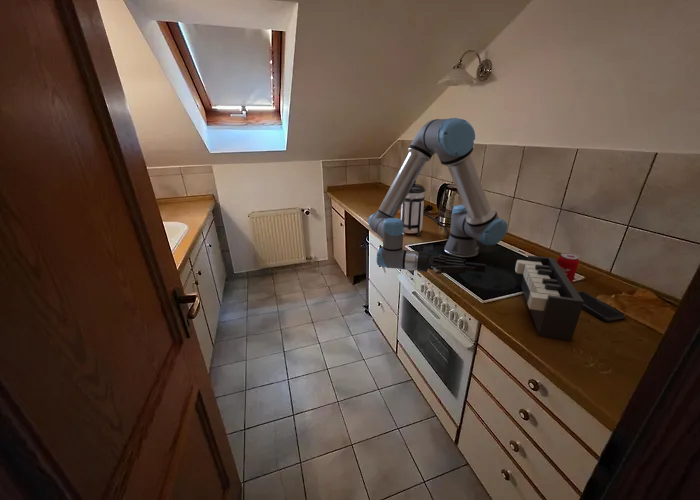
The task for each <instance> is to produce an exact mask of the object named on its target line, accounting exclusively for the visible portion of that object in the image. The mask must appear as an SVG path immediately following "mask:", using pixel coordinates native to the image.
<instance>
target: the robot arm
mask: <svg viewBox="0 0 700 500" xmlns="http://www.w3.org/2000/svg"><path fill="white" fill-rule="evenodd" d="M475 140H476V132H475V129H474V126H473V125H472V124H471V123H470V122H469V120H467V119H466V120H465V119H464V118H459V117H451V118H436V119H431V120H430V121H427V122H426V123H425V124H424V125H423V126H422V127H421V128H420V129H419V130H418V132H417V133H416V135H415V136H414V138H413V140H412V141H411V143H410V145H409V147H408V149H407V151H408V153H407V156H406V157H405V159H404V161H403V163H402V165H401V167H400V169H399V171H398V173H397V174H396V176H395V177H394V180H393V182H392V183H391V185H390V187H389V189H388V191H387V193H386V195H385V196H384V198H383V200H382V202H381V204H380V205H379V207H378V209H377V211H376V212H374V213H373V214H371V215H370V216H369V218H368V220H367V224H368V226H369V228H370V229H371V231H372V232H373V233H375V234H376V235H378V236H379V238H381V239H382V247H379V248H378V249H377V252H376V265H377V266H378V267H381V268H387V269H396V270H406V271H409V272H410V271H413V272H416V270H417V272H423V273H427V272H428V270H430V271H434V272H435V273H434V274H436V275H439V274H465V273H466V271H467V272H475V273H485V272H486V265H487V264H486V263H481V262H469V261H467V260H469V259H474V258H477V257H478V256H479V250H480V246H479V245H478V242H479V243H481V244H482V245H486V246H494V245H497V244H499V243H500V242H501V241H502V240H503V239H504V238H505V236H506V234H507V232H508V227H509V226H508V222H507V220H505V219H503V218H500V217H499V214H498V211H497V210H496V208H495V206H493V205H490V202H489V200H488V197H487V196H486V192H485V189H484V187H483V184H482V181H481V179H480V176H479V173H478V171H477V168H476V166H475V163H474V161H473V158H472V154H473V152H474V146H475V145H474V144H475V142H474V141H475ZM435 154H436V155H437V157H438V159H439V161H440V164H441V165H442V166H445V167H447V169H448V171H449V174H450V177H451V178H452V181H453V183H454V186H455V188H456V191H457V192H458V195H459V197H460V200H461V202H462V204H457V205H455V206H453V207H452V211H451V219H450V230H449V231H448V230H447V228H446V226H444V224H442V223H441V222H440V221H439V220H438V219H436V218H435V217H433V216H431V215H429V214H427V213H426V212H424V211H423V215H425V216H427V217H429V218H430V219H432V220H433V221H435V222H436V223H438V224H439V226H440V227H442V228H443V230H444V231H445V232H446V235H447V240H446V243H445V245H444V247H443V248H444V249H443V251H444V253H445V254H442V253H437V255H432V256H431V255H430V253H429V252H427V251H418V250H410V249H409V250H408V249H403V244H404V243H403V242H404V234H403V232H404V228H403V221H402V220H401V218H398V217H396V216H397V214H398V212H399V210H401V205H402V203H403V202H404V200H405V198H406V196H407V195H408V193H409V191H410V189H411V188H412V186H413V184H415V183H414V182H415V180H416V181H417V178H419V175H420V173H421V171H422V170H423V168H424V166H425V164H426V163H427V162H429V161H431V159H432V157H433V156H434V155H435ZM477 241H478V242H477Z"/></svg>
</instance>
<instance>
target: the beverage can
mask: <svg viewBox="0 0 700 500" xmlns="http://www.w3.org/2000/svg"><path fill="white" fill-rule="evenodd" d="M556 261H557V263H558V264H559V266H560V267H561V269H562V270H563V272H564V273H565V275H566V276H567V278H568V279H569V280H570V282H571V283H572V284H573V283H574V280H575V276H576V273H577V269H578V266H579V263H580V261H579V256H578V255H576V254H574V253H571V252H561V254H560V255H559V256H558V257H557V260H556Z"/></svg>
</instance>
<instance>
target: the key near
mask: <svg viewBox="0 0 700 500" xmlns="http://www.w3.org/2000/svg"><path fill="white" fill-rule="evenodd" d="M548 295H549V294H541V293H533V292H530V295H529V299H528V304H527V307H528V306H529V307H528V310H529V309H533V310H540V311H544V309H545V306H546V302H547V298H548ZM552 296H557V295H552Z"/></svg>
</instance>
